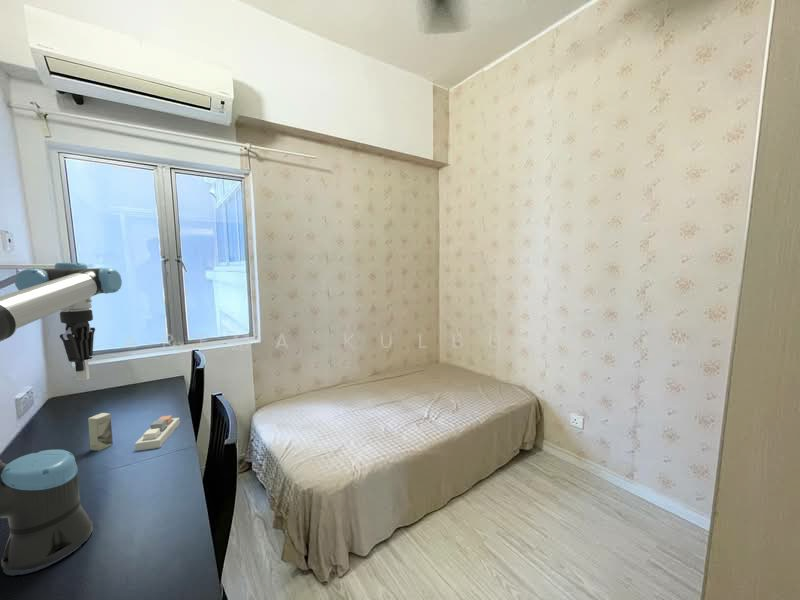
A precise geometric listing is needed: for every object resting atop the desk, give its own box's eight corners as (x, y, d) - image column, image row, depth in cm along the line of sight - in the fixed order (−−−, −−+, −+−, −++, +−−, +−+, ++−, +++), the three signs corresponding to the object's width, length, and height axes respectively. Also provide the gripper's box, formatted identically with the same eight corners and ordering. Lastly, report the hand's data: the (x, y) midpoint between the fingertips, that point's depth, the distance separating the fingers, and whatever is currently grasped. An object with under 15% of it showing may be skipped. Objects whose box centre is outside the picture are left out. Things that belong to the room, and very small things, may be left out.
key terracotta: (168, 426, 136) (168, 419, 136) (157, 427, 135) (157, 420, 135) (172, 422, 140) (172, 415, 140) (162, 423, 139) (161, 416, 139)
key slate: (162, 431, 130) (161, 423, 130) (151, 432, 129) (150, 425, 129) (166, 426, 134) (166, 419, 134) (155, 427, 133) (154, 420, 133)
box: (99, 451, 121) (95, 419, 120) (90, 450, 122) (86, 418, 121) (114, 444, 126) (111, 413, 125) (105, 443, 127) (102, 412, 126)
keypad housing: (160, 447, 123) (159, 440, 123) (135, 450, 121) (134, 443, 121) (179, 423, 143) (179, 417, 142) (159, 426, 140) (158, 419, 140)
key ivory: (155, 440, 125) (155, 432, 124) (143, 442, 124) (143, 434, 123) (160, 435, 128) (159, 428, 128) (148, 437, 127) (148, 429, 127)
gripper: (76, 311, 99) (84, 385, 101) (102, 307, 112) (108, 372, 114) (46, 312, 97) (54, 387, 99) (75, 308, 109) (82, 374, 112)
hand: (83, 379), depth 106 cm, fingers closed
